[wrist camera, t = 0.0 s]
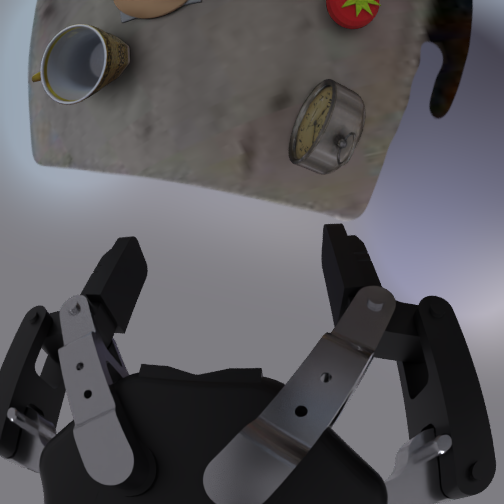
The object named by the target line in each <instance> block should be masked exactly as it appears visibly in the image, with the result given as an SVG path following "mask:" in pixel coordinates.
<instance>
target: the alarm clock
mask: <svg viewBox="0 0 504 504" xmlns="http://www.w3.org/2000/svg"><path fill="white" fill-rule="evenodd" d="M364 123H365V106H364V103H363V100H362V99H361V97H360V96H359V95H358V94H357V93H355V92H354V91H352V90H350V89H348V88H346V87H344V86H343V85H341V84H339V83H337V82H335V81H333V80H331V79H327V80H324V81H322V82H321V83H319V84H318V85H317V86H316V87H315V88H314V90H313V91H312V92H311V94H310V95H309V97H308V98H307V100H306V101H305V103H304V105H303V107H302V109H301V111H300V113H299V115H298V117H297V120H296V122H295V125H294V128H293V131H292V135H291V138H290V143H289V158H290V160H291V162H292V163H293V164H297V165H299V166H302V167H304V168H306V169H309V170H311V171H314V172H316V173H319V174H329V173H331V172H334V171H335V170H337V169H338V168H340V167H341V166H343V165H345V164H347V163H348V161H349V160H350V158H351V156H352V154H353V151H354V149H355V148H356V146H357V144H358V142H359V139H360V137H361V134H362V131H363V127H364Z"/></svg>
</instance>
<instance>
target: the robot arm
mask: <svg viewBox="0 0 504 504" xmlns="http://www.w3.org/2000/svg"><path fill="white" fill-rule="evenodd" d="M322 269H323V273H324V278H325V282H326V287H327V292H328V296H329V301H330V306H331V311H332V316H333V321H334V326H335V328H334V329H333V331H332V332H331V333H328V332H327V333H325V334H324V335H323V336H322V338H321V339H320V340H319V342H318V343H317V344H316V346H315V347H314V349H313V350H312V351H311V353H310V354H309V356H308V357H307V358H306V359H305V360H304V362H303V363H302V364H301V366H300V367H299V368H298V370H297V371H296V372H295V373H294V375H293V376H292V377H291V378H290V380H289V381H288V382H287V383H286V385H285V384H283V383H281V382H279V381H277V380H274V379H271V378H267V377H263V374H262V369H261V368H245V369H243V368H241V369H240V368H237V369H236V368H235V369H234V368H229V369H225V370H220V371H215V372H210V373H205V374H201V375H195V374H191V373H188V372H184V371H181V370H178V369H175V368H172V367H169V366H158V365H147V364H141V368H140V372H139V373H135V374H132V375H129V373H128V371H127V369H126V367H125V364H124V362H123V360H122V357H121V354H120V352H119V349H118V347H117V344H116V342H115V340H114V339H113V335H114V333H125V331H126V328H127V325H128V323H129V320H130V318H131V315H132V312H133V309H134V307H135V304H136V302H137V299H138V297H139V294H140V292H141V289H142V287H143V284H144V282H145V280H146V277H147V271H148V270H147V264H146V261H145V258H144V256H143V253H142V251H141V248H140V245H139V243H138V240H137V239H136V237H122V238H118V239H117V241H116V242H115V244H114V246H113V247H112V249H110V250H109V251H108V252H107V253H106V254H105V255H104V256H103V257H102V258H101V260H100V261H99V263H98V265H97V267H96V268H95V270H94V271H93V272H94V273H93V274H92V275H91V276H90V278H89V280H88V282H87V284H86V286H85V287H84V289H83V291H82V293H81V294H80V295H76V296H73V297H71V298H69V299H68V300H67V301H66V302H65V303H64V304H63V305H62V307H61V309H60V311H57V312H53V313H50V314H49V313H48V312H47V310H46V309H45V308H44V307H43V306H36V307H34V308H32V309H31V310H30V311H29V312H28V313H27V314H26V315H25V317H24V319H23V321H22V323H21V325H20V327H19V329H18V331H17V333H16V335H15V337H14V339H13V342H12V344H11V346H10V348H9V350H8V353H7V355H6V358H5V360H4V362H3V365H2V367H1V370H0V456H1V457H3V458H4V459H6V460H8V461H10V462H12V463H14V464H16V465H19V466H21V467H23V468H27V469H30V470H32V471H34V472H37V473H40V476H41V480H42V485H43V492H44V503H45V504H434V503H440V502H445V501H450V500H455V499H459V498H464V497H468V496H472V495H475V494H478V493H480V492H482V491H483V490H485V489H486V488H487V487H488V485H489V484H490V483H491V481H492V479H493V477H494V474H495V470H496V460H495V453H494V447H493V440H492V435H491V429H490V424H489V419H488V415H487V410H486V406H485V402H484V398H483V395H482V391H481V387H480V383H479V380H478V377H477V373H476V370H475V367H474V364H473V361H472V358H471V355H470V352H469V349H468V346H467V344H466V341H465V338H464V336H463V333H462V330H461V328H460V325H459V323H458V320H457V318H456V316H455V313H454V311H453V309H452V307H451V305H450V304H449V303H448V302H447V301H446V300H444V299H442V298H440V297H437V296H427V297H425V298H423V299H422V300H421V301H420V303H419V305H414V304H408V303H402V302H399V301H396V300H395V298H394V296H393V295H392V293H390V292H389V291H388V290H387V289H385V288H382V286H381V283H380V281H379V278H378V276H377V273H376V271H375V268H374V266H373V263H372V261H371V259H370V256H369V254H368V253H367V250H366V247H365V245H364V243H363V242H362V241H361V240H360V239H359V238H358V237H357V236H355V235H351V236H347V233H346V231H345V228H344V226H343V224H325V225H324V228H323V243H322ZM41 348H42V349H43V350H44V351H45V352H46V353H47V354H48V356H47V359H46V362H45V364H44V367H43V370H42V373H41V375H40V376H38V374H37V373H36V371H35V362H36V359H37V357H38V355H39V352H40V350H41ZM374 357H376V358H382V359H389V360H395V361H397V365H398V371H399V376H400V381H401V386H402V391H403V397H404V404H405V410H406V417H407V424H408V432H409V441H408V442H406V443H405V444H404V445H402V447H401V448H400V449H399V451H398V452H397V455H396V461H395V467H394V470H393V472H392V474H391V475H390V476H389V478H388V479H387V480H385V481H383V479H382V478H381V477H380V475H379V474H378V473H377V472H376V471H375V470H374V469H373V468H372V467H371V466H370V465H368V463H366V462H365V461H364V460H363V459H362V458H361V457H360V456H359V455H358V454H357V453H356V452H355V451H354V450H353V449H352V448H350V446H349V445H347V444H346V442H344V441H343V440H342V439H341V438H340V437H339V436H338V435H337V434H336V433H335V432H334V431H333V430H332V429H331V428H332V427H333V425H334V424H335V422H336V421H337V419H338V418H339V416H340V415H341V413H342V412H343V410H344V408H345V407H346V405H347V404H348V402H349V400H350V398H351V397H352V395H353V393H354V392H355V390H356V388H357V387H358V385H359V383H360V381H361V380H362V378H363V376H364V375H365V373H366V371H367V369H368V367H369V366H370V364H371V362H372V360H373V358H374ZM65 391H66V392H67V396H68V400H69V404H70V408H71V411H72V415H73V418H74V420H73V421H72V422H70V423H69V424H68V425H67V426H66V427H65V428H63V429H62V430H61V431H60V432H59V433H58V434H57V435H56V426H57V421H58V417H59V413H60V409H61V406H62V402H63V398H64V395H65Z"/></svg>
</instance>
